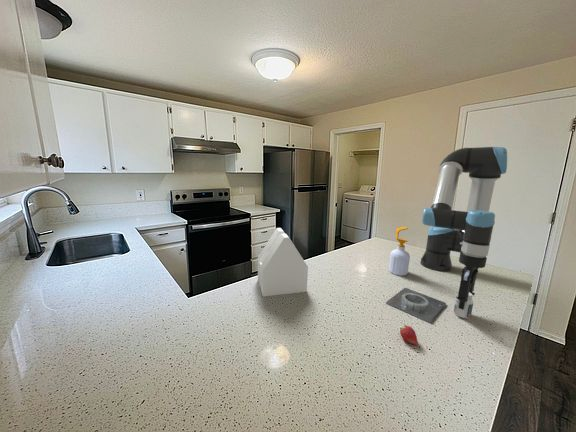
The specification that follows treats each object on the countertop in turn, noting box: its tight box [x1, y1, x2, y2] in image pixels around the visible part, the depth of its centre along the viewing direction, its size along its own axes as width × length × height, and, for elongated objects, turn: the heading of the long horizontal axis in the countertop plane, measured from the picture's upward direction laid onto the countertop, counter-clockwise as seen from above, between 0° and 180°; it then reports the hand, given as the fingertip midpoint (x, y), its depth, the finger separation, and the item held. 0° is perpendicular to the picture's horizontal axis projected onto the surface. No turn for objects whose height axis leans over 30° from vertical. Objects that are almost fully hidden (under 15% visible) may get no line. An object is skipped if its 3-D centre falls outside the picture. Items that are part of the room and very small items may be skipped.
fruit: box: [399, 323, 419, 346], centre depth 73 cm, size 4×6×5 cm
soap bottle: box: [388, 226, 411, 277], centre depth 121 cm, size 9×9×25 cm
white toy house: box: [257, 227, 309, 297], centre depth 104 cm, size 19×15×25 cm
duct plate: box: [385, 287, 447, 324], centre depth 94 cm, size 18×16×3 cm
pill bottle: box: [453, 292, 474, 319], centre depth 87 cm, size 5×5×9 cm
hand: (462, 312), depth 88 cm, fingers closed on pill bottle, 5 cm apart
